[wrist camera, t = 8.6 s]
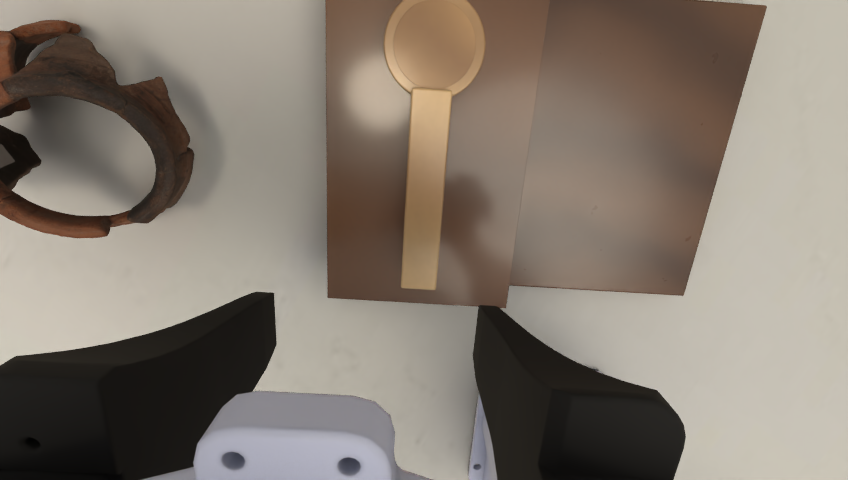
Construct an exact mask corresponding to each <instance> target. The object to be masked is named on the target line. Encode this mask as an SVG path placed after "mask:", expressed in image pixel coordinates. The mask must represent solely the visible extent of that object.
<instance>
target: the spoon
mask: <svg viewBox="0 0 848 480" xmlns="http://www.w3.org/2000/svg"><path fill="white" fill-rule="evenodd" d="M383 44H384V55H385V60H386V64H387V66H388V69H389V71H390V73H391V75H392V76H393V78H394V79H395V80H396V82H397V83H398V84H399V85H400V86H401V87H402V88H403V89H404V90H405V91H406V92H408V93H409V94H411V104H410V123H409V141H408V160H407V179H406V198H405V216H404V235H403V254H402V272H401V288H408V289H425V290H435V289H436V284H437V272H438V260H439V248H440V236H441V224H442V212H443V200H444V188H445V175H446V163H447V151H448V139H449V127H450V115H451V103H452V96H455V95H457V94H458V93H460V92H462V91H463V90H464V89H465V88H467V87H468V86H469V85H470V84H471V83H472V81H473V80H474V79H475V77H476V76H477V74H478V72H479V70H480V68H481V66H482V63H483V59H484V55H485V45H486V41H485V33H484V28H483V25H482V22H481V19H480V17H479V15H478V13H477V12H476V10H475V9H474V7H473V6H472V5H471V4H470V3H469V2H468V1H467V0H403V1H402V2H400V3H399V5H398V6H397V7H396V8H395V10H394V11H393V13H392V14H391V16H390V18H389V20H388V23H387V26H386V29H385V33H384V42H383Z"/></svg>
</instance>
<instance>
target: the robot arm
mask: <svg viewBox="0 0 848 480" xmlns="http://www.w3.org/2000/svg"><path fill="white" fill-rule="evenodd" d="M275 347H276V326H275V307H274V293H267V292H254V293H251V294H248V295H246V296H243V297H241V298H239V299H236V300H234V301H232V302H230V303H227V304H225V305H223V306H221V307H218V308H216V309H214V310H212V311H210V312H207V313H205V314H202V315H200V316H197V317H195V318H192V319H190V320H187V321H185V322H182V323H180V324H177V325H174V326H171V327H168V328H165V329H162V330H159V331H156V332H153V333H149V334H146V335H142V336H138V337H134V338H130V339H126V340H122V341H117V342H113V343H108V344H103V345H98V346H93V347H87V348H81V349H75V350H68V351H60V352H52V353H43V354H34V355H24V356H16V357H14V358H12V359H10V360H9V361H7V362H5V363H4V364H2V365H0V480H432V479H429V478H426V477H423V476H420V475H417V474H414V473H411V472H408V471H405V470H402V469H401V468H400V467H398V466H397V464H396V462H395V457H394V441H395V431H394V427H393V424H392V420H391V416H390V415H389V414H388V413H387V412H386V411H385V410H384V409H383V408H381V407H380V406H379V405H378V404H377V403H376V402H374V401H371V400H367V399H363V398H360V397H356V396H347V395H328V394H309V393H290V392H271V391H255V392H252V391H253V389H254V388H255V386H256V385H257V383H258V381H259V380H260V378H261V376H262V375H263V373H264V371H265V370H266V368H267V366H268V363H269V361H270V359H271V357H272V354H273V352H274V349H275ZM473 360H474V369H475V377H476V382H477V386H478V390H479V393H478V401H477V409H476V416H475V424H474V432H473V440H472V447H471V455H470V463H469V471H468V476H469V480H673V479H674V476H675V473H676V470H677V467H678V464H679V461H680V458H681V455H682V452H683V449H684V443H685V437H686V436H685V430H684V425H683V423H682V421H681V419H680V418H679V416H678V414H677V413H676V412H675V411H674V410H673V408H672V407H671V406H670V405H669V404H668V403H667V401H666V400H665V399H664V398H663V397H662V395H661V394H660V393H659V392H658V391H657V390H653V389H650V388H646V387H643V386H639V385H635V384H632V383H628V382H625V381H621V380H619V379H616V378H613V377H610V376H607V375H605V374H603V373H601V372H600V371H595V370H592V369H590V368H588V367H586V366H583V365H581V364H579V363H577V362H575V361H573V360H571V359H569V358H567V357H565V356H564V355H562V354H560V353H558V352H557V351H555V350H553V349H552V348H550V347H548V346H547V345H545V344H544V343H542V342H541V341H540V340H538V339H537V338H535V337H534V336H533V335H531V334H530V333H529V332H527V331H526V330H525V329H524V328H522V327H521V326H520V325H519V324H518V323H516V322H515V321H514V320H513V319H512V318H511V317H509V316H508V315H507V314H506V313H505V312H503V311H502V310H501V309H500V308H499V307H497V306H488V305H479V310H478V318H477V326H476V335H475V343H474V351H473ZM475 464H478V465H475Z"/></svg>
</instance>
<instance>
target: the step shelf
mask: <svg viewBox="0 0 848 480" xmlns="http://www.w3.org/2000/svg"><path fill="white" fill-rule="evenodd" d="M402 1H403V0H326V125H327V274H328V298H340V299H357V300H374V301H392V302H409V303H426V304H443V305H460V306H478V307H479V305H488V306H497V307H499V308H506V304H507V297H508V290H509V285H513V286H530V287H547V288H563V289H580V290H597V291H614V292H631V293H647V294H664V295H681V296H683V295H684V292H685V289H686V285H687V282H688V278H689V275H690V271H691V268H692V264H693V261H694V258H695V254H696V251H697V247H698V244H699V240H700V237H701V233H702V230H703V226H704V223H705V219H706V216H707V212H708V209H709V206H710V202H711V199H712V195H713V192H714V188H715V185H716V181H717V178H718V174H719V171H720V167H721V164H722V161H723V157H724V154H725V150H726V147H727V143H728V140H729V136H730V133H731V129H732V126H733V122H734V119H735V115H736V112H737V109H738V105H739V102H740V98H741V95H742V91H743V88H744V84H745V81H746V77H747V74H748V70H749V67H750V63H751V60H752V57H753V53H754V50H755V46H756V43H757V39H758V36H759V32H760V29H761V25H762V22H763V18H764V15H765V11H766V8H767V6H765V5H752V4H739V3H727V2H714V1H701V0H467V1H468V2H469V3H470V4H471V5H472V6H473V7H474V9H475V10H476V12H477V13H478V15H479V17H480V19H481V22H482V25H483V28H484V33H485V41H486V45H485V55H484V59H483V63H482V66H481V68H480V70H479V72H478V74H477V76H476V77H475V79H474V80H473V81H472V83H471V84H470V85H469V86H468V87H467V88H465V89H464V90H463V91H462V92H460V93H458V94H457V95H455V96H452V103H451V115H450V127H449V139H448V151H447V163H446V175H445V188H444V200H443V212H442V224H441V236H440V248H439V260H438V272H437V284H436V289H435V290H425V289H408V288H401V272H402V254H403V235H404V216H405V198H406V179H407V160H408V141H409V123H410V104H411V94H409V93H408V92H406V91H405V90H404V89H403V88H402V87H401V86H400V85H399V84H398V83H397V82H396V80H395V79H394V78H393V76H392V75H391V73H390V71H389V69H388V66H387V64H386V60H385V55H384V44H383V42H384V33H385V29H386V26H387V23H388V20H389V18H390V16H391V14H392V13H393V11H394V10H395V8H396V7H397V6H398V5H399V3H400V2H402Z"/></svg>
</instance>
